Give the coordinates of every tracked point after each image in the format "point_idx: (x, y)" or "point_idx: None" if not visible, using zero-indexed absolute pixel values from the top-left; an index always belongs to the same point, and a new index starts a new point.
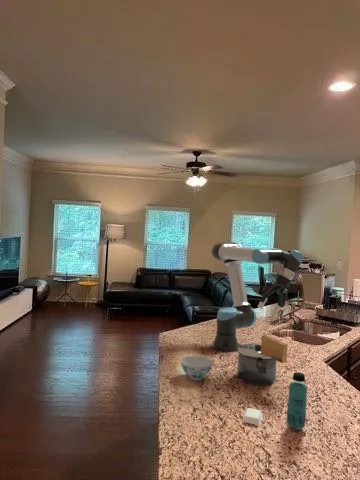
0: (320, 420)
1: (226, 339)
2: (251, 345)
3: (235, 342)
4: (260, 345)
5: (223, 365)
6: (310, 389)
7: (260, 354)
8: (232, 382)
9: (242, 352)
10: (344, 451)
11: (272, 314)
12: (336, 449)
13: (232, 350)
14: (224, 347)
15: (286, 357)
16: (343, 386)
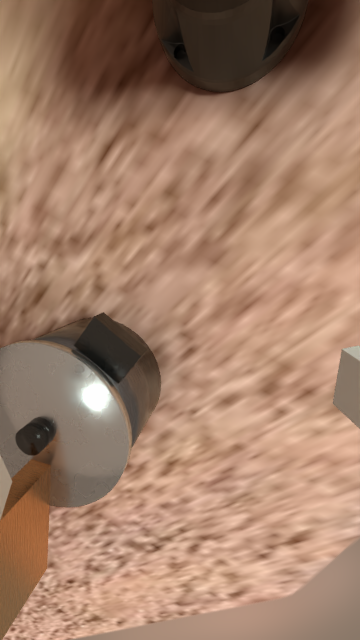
0: (73, 582)
1: (179, 22)
2: (52, 377)
3: (243, 52)
4: (39, 448)
5: (66, 239)
6: (182, 514)
7: (14, 472)
8: None
9: None
10: (33, 633)
11: (350, 377)
12: (26, 624)
13: (215, 90)
14: (173, 61)
15: (32, 588)
16: (296, 565)
